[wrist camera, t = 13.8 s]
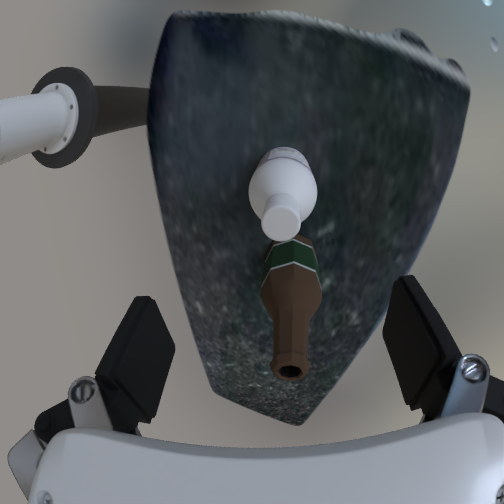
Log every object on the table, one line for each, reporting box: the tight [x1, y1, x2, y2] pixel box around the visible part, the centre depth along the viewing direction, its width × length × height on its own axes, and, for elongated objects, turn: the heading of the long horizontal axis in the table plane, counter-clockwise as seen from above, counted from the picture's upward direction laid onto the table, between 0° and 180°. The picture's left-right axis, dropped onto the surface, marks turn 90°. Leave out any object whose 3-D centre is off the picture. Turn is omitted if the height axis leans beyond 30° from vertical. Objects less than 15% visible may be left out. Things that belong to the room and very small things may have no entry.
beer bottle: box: [261, 234, 322, 381], centre depth 33 cm, size 8×8×24 cm
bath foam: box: [249, 147, 317, 241], centre depth 28 cm, size 7×7×20 cm
